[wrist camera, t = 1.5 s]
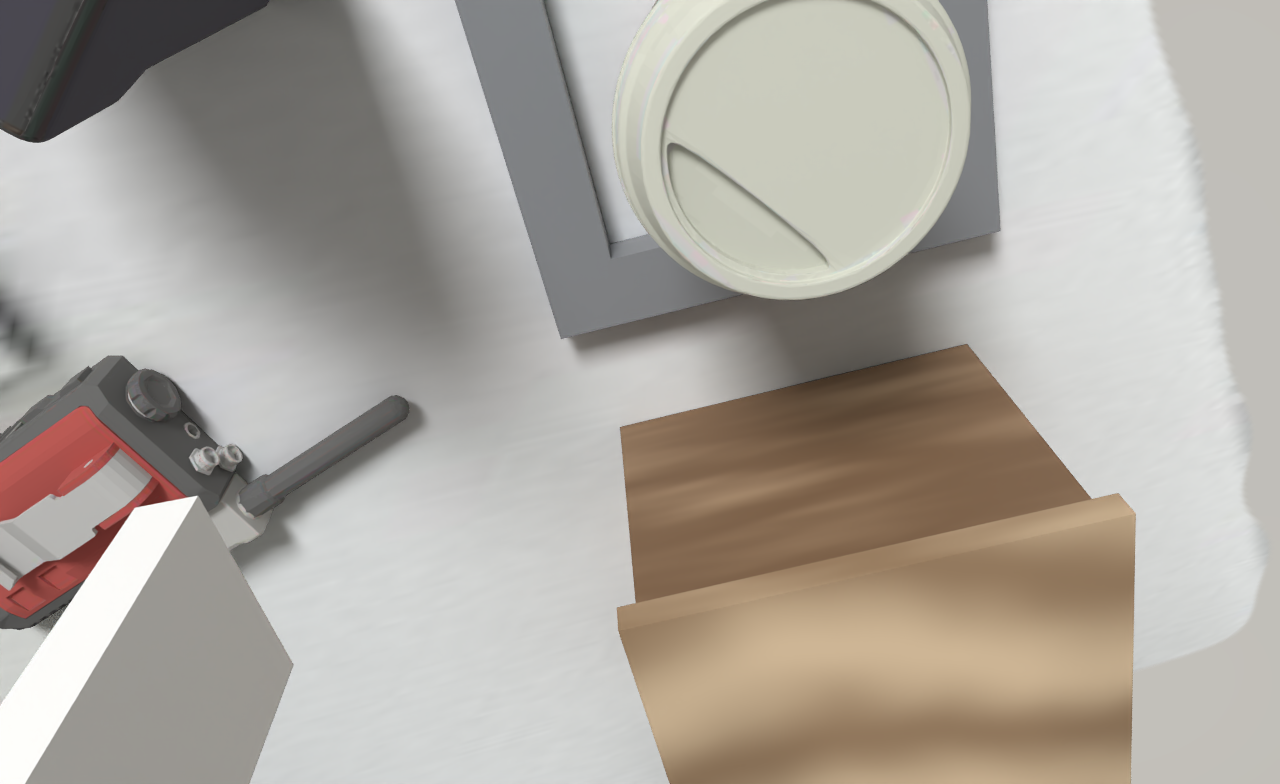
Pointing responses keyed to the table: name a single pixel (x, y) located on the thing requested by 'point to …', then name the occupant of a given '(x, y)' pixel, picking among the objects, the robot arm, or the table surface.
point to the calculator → (91, 53)
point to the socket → (565, 196)
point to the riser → (876, 588)
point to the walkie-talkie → (127, 478)
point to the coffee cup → (791, 137)
